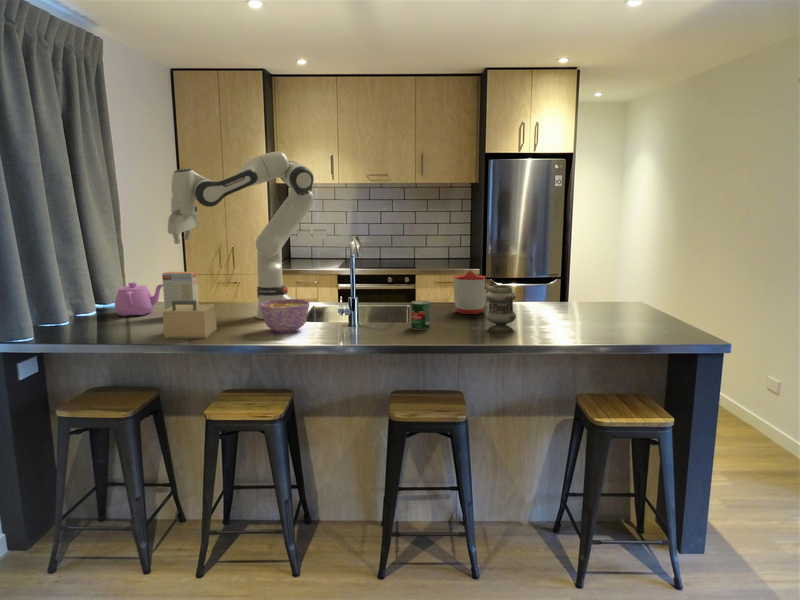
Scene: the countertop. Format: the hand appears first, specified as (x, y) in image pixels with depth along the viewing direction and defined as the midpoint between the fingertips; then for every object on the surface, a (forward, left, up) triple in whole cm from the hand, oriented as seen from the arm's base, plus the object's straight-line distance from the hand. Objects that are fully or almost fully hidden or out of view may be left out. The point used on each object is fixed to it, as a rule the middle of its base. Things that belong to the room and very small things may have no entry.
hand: (181, 241), depth 243 cm
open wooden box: (-7, +16, -36) cm, 40 cm away
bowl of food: (-44, +11, -36) cm, 58 cm away
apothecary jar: (-132, +12, -36) cm, 138 cm away
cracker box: (+9, -19, -36) cm, 42 cm away
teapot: (+34, -28, -36) cm, 57 cm away
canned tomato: (-100, +8, -36) cm, 106 cm away
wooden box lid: (-7, +16, -26) cm, 31 cm away
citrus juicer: (-125, -25, -36) cm, 133 cm away
